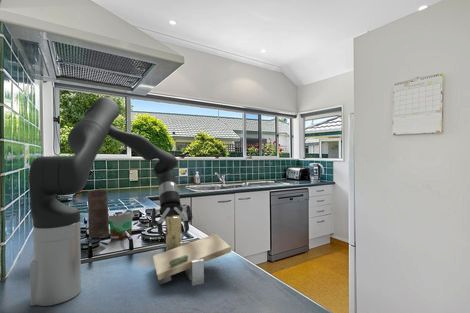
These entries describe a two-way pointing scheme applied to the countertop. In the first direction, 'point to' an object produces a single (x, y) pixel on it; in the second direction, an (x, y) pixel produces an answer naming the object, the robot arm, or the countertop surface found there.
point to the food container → (120, 225)
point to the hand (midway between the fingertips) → (174, 233)
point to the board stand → (195, 270)
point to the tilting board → (188, 256)
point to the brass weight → (173, 231)
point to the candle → (98, 213)
